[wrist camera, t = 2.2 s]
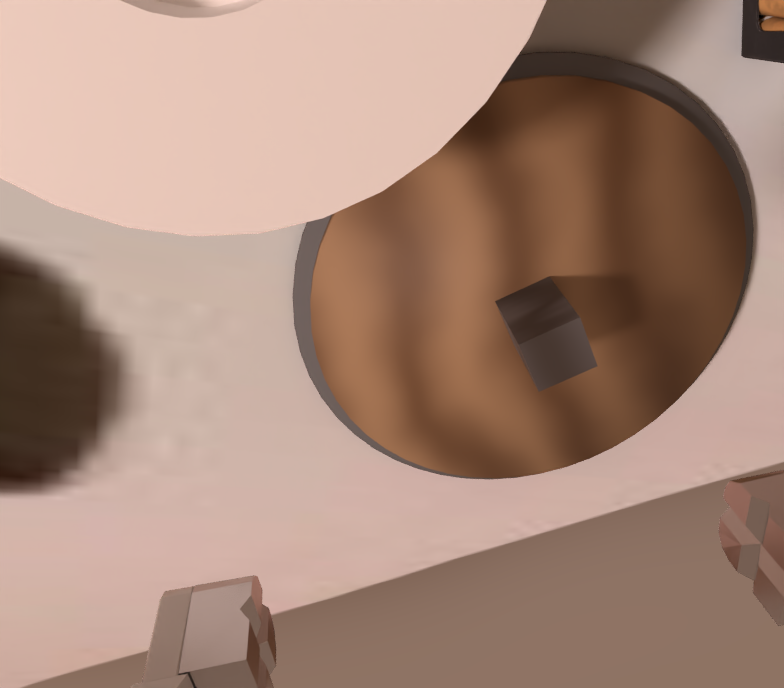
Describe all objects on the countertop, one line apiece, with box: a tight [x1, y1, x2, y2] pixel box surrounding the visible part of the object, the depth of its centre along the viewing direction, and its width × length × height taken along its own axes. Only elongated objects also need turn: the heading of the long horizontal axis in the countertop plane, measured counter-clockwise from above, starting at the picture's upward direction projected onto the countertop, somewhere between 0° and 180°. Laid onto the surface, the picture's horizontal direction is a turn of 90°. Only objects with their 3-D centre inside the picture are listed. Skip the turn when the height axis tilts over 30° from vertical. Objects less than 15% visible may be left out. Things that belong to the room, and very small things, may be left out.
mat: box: [293, 52, 753, 479], centre depth 40 cm, size 28×28×1 cm
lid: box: [310, 75, 746, 478], centre depth 37 cm, size 26×26×6 cm
